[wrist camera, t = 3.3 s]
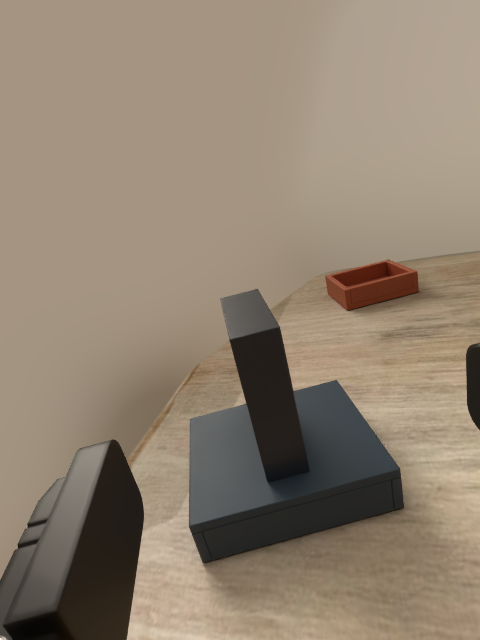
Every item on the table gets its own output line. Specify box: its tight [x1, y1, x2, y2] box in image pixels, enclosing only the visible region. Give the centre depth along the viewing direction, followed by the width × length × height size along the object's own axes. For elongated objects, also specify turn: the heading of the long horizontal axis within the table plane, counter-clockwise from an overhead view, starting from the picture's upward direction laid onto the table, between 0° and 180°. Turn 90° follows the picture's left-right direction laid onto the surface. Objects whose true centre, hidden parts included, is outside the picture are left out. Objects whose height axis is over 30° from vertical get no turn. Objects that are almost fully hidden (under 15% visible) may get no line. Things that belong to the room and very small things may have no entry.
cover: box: [189, 289, 404, 563], centre depth 21 cm, size 10×9×10 cm
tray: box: [325, 260, 419, 310], centre depth 45 cm, size 8×7×2 cm
